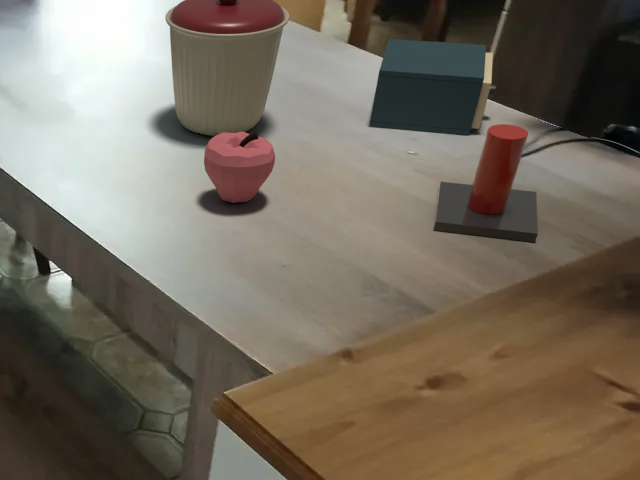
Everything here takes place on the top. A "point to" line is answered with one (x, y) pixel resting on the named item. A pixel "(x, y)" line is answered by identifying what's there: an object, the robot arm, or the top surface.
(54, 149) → the top surface
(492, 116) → the top surface
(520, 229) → the board
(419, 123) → the cabinet
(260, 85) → the canister
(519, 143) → the red cylinder
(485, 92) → the drawer
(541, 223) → the top surface
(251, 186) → the apple
